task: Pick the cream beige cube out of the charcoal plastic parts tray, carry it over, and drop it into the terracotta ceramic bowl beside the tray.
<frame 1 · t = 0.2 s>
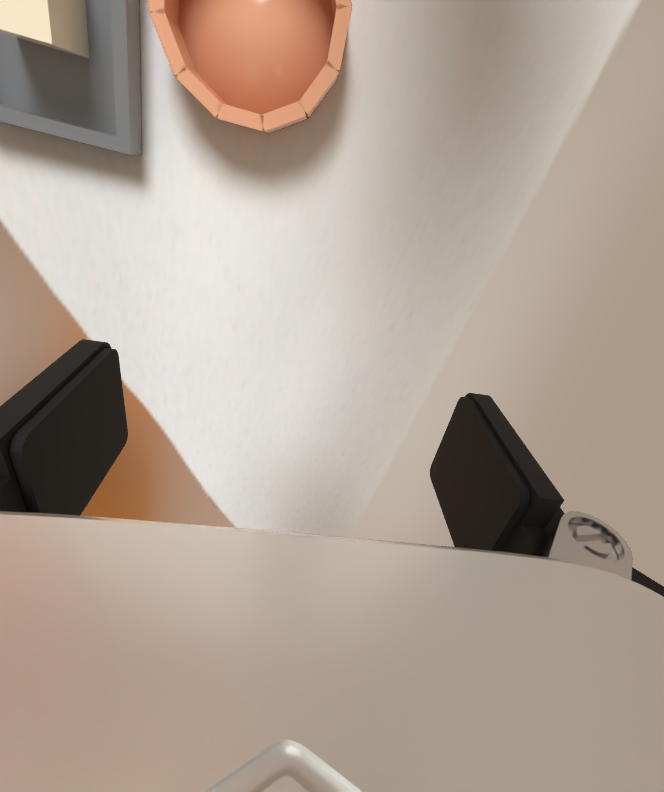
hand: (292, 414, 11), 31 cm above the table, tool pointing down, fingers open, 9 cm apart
parts tray: (52, 5, 28), on the table
cream beige cube: (48, 3, 28), resting on parts tray
bowl: (258, 24, 29), on the table
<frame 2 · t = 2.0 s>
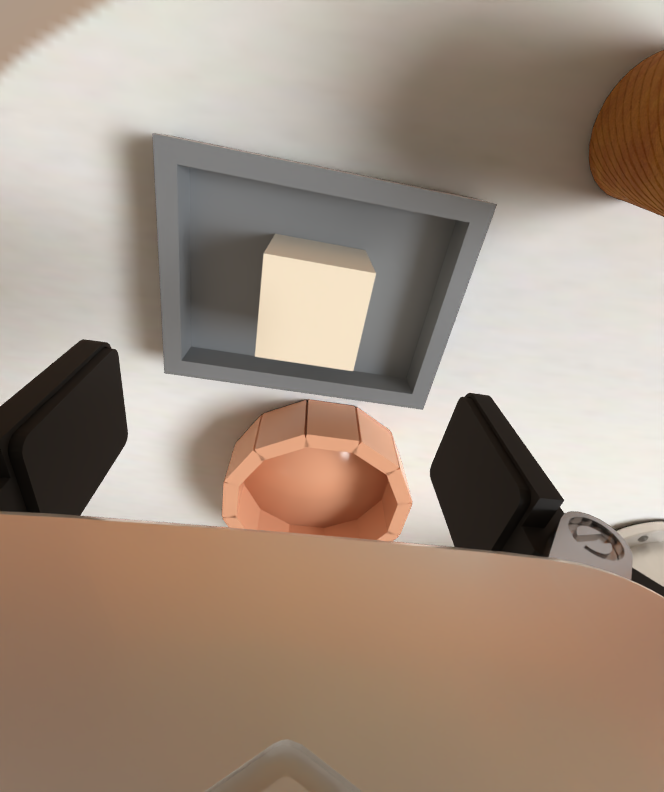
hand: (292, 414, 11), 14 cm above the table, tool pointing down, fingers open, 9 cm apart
disposable coffee cup: (650, 129, 20), on the table
parts tray: (314, 284, 23), on the table
cream beige cube: (313, 286, 23), resting on parts tray
bowl: (317, 471, 31), on the table
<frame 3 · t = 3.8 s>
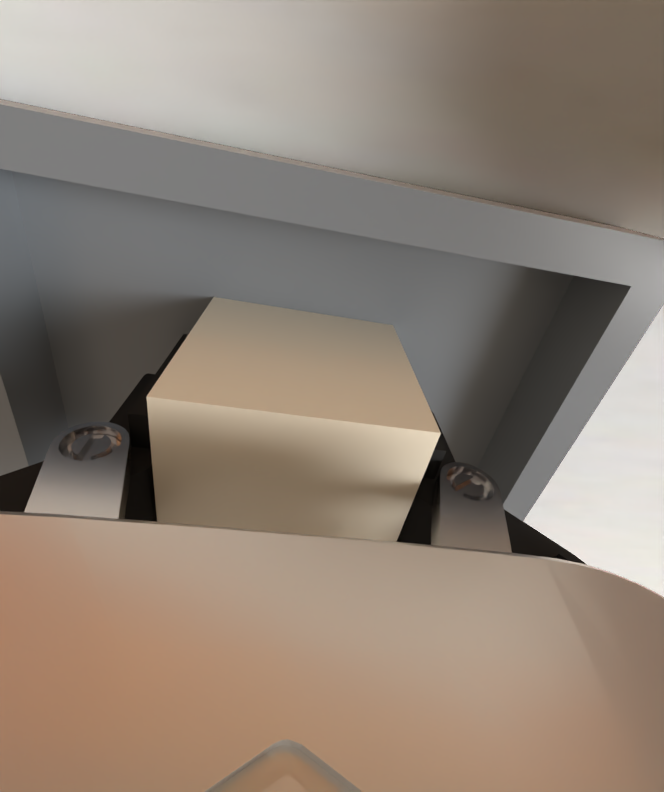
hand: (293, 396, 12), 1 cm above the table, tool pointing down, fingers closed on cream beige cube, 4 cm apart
parts tray: (295, 379, 13), on the table
cream beige cube: (294, 387, 12), point 1 cm above the table, touching gripper, parts tray
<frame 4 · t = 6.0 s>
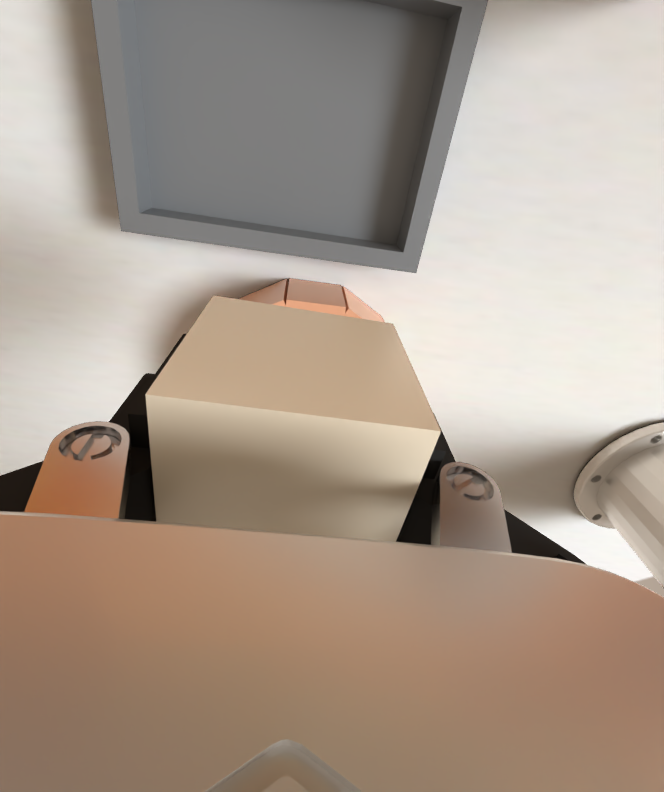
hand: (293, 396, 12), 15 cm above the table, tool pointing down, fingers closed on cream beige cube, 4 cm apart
parts tray: (287, 122, 20), on the table
cream beige cube: (294, 386, 12), point 14 cm above the table, touching gripper
bowl: (304, 370, 28), on the table
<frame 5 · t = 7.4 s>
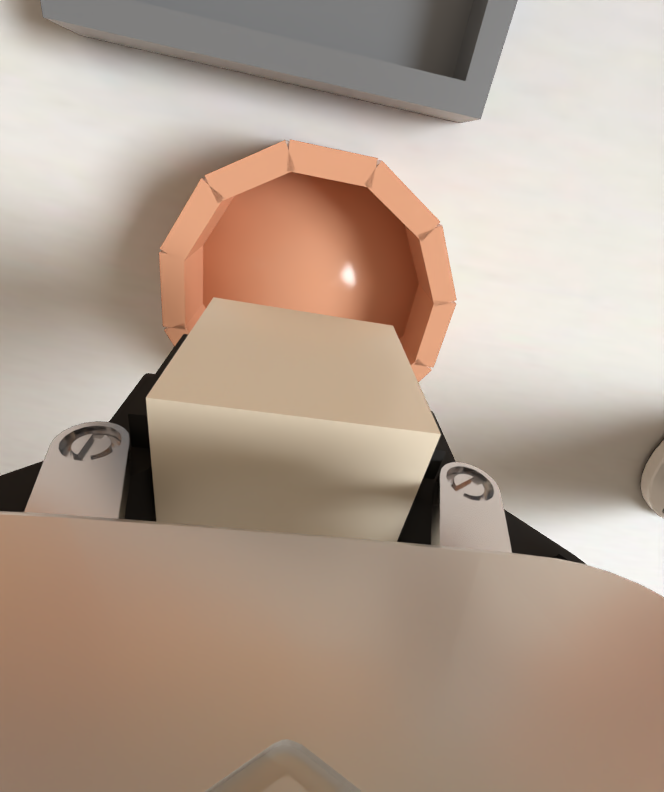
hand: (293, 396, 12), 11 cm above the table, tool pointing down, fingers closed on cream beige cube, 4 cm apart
cream beige cube: (294, 388, 12), point 11 cm above the table, touching gripper
bowl: (310, 288, 21), on the table
when the fingers open (6 cm above the table, at t = 8.7 s): cream beige cube drops 5 cm, resting on bowl.
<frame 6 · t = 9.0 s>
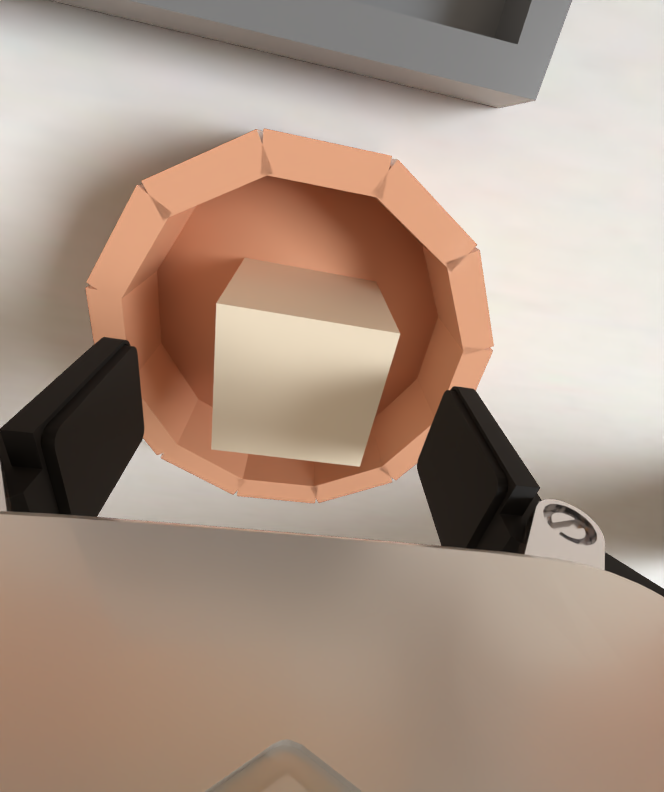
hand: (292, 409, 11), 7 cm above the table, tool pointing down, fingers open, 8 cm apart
cream beige cube: (302, 330, 16), point 1 cm above the table, touching bowl
bowl: (299, 322, 17), on the table
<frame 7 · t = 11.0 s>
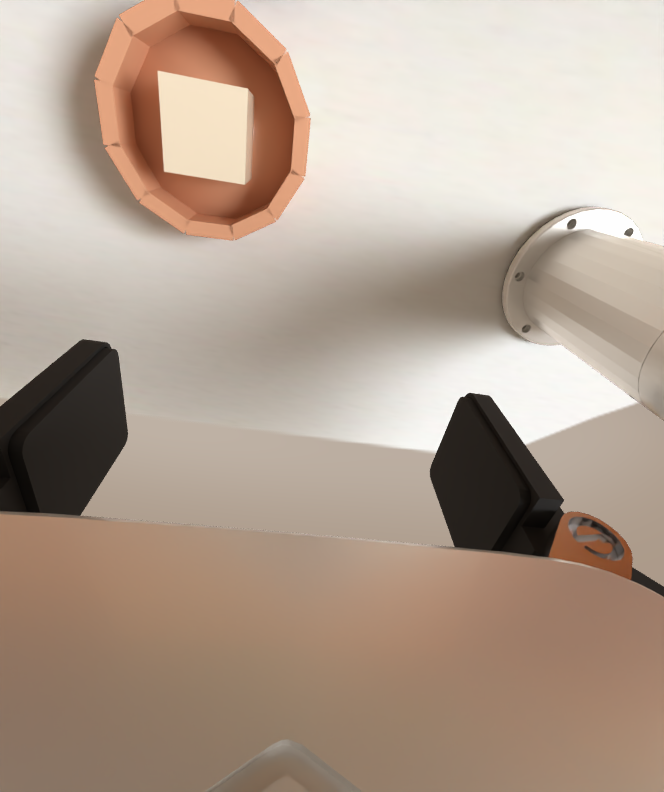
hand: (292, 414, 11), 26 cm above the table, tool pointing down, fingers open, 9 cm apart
cream beige cube: (217, 133, 28), point 1 cm above the table, touching bowl
bowl: (217, 132, 29), on the table
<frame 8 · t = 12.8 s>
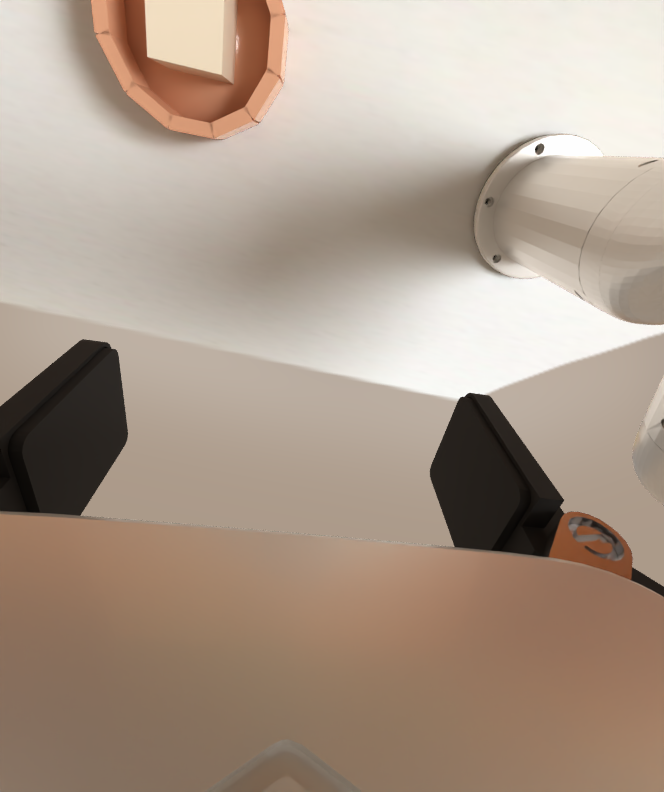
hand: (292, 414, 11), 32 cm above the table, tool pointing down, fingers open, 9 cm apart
cream beige cube: (202, 36, 30), point 1 cm above the table, touching bowl
bowl: (203, 37, 31), on the table
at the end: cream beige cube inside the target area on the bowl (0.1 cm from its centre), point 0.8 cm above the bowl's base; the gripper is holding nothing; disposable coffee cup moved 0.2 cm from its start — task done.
